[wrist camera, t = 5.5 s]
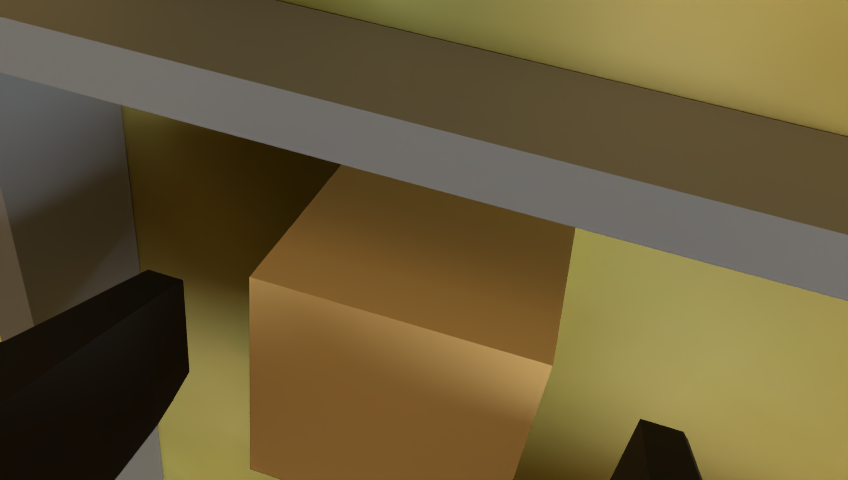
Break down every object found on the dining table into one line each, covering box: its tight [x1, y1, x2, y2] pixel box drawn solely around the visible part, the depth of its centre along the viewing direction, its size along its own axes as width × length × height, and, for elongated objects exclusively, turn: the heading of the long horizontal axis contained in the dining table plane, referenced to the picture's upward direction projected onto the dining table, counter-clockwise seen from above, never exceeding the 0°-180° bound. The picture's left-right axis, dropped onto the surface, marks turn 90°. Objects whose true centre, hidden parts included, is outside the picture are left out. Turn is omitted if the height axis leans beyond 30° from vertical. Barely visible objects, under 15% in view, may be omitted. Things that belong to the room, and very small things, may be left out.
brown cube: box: [249, 164, 575, 480], centre depth 11 cm, size 4×4×4 cm
